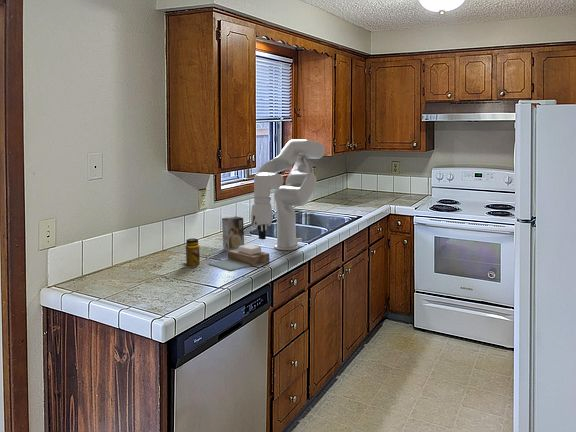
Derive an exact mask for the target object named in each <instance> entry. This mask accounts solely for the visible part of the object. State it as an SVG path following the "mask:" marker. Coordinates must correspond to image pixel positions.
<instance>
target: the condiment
mask: <svg viewBox="0 0 576 432" xmlns="http://www.w3.org/2000/svg"><path fill="white" fill-rule="evenodd" d="M200 253H201V252H200V245H199V239H198V238H195V237H194V238H187V239H186V245H185V259H186V261H185V262H182V263H181V267H182V269H183V268H196V267H197V268H198V267H202V265H201V258H200V256H201V255H200Z"/></svg>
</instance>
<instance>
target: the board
mask: <svg viewBox="0 0 576 432" xmlns="http://www.w3.org/2000/svg"><path fill="white" fill-rule="evenodd" d="M227 259H231V260H235V261H238V262H242V263H246V264H249V265H251V266H250V267H256V266H260V265H263V264H266V263H270V252H269V253H268V252H266V251H261V252H260V253H256V254H252V255H251V254H247V253H243V252H239V249H234V250H230V251H227ZM255 265H256V266H255Z"/></svg>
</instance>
